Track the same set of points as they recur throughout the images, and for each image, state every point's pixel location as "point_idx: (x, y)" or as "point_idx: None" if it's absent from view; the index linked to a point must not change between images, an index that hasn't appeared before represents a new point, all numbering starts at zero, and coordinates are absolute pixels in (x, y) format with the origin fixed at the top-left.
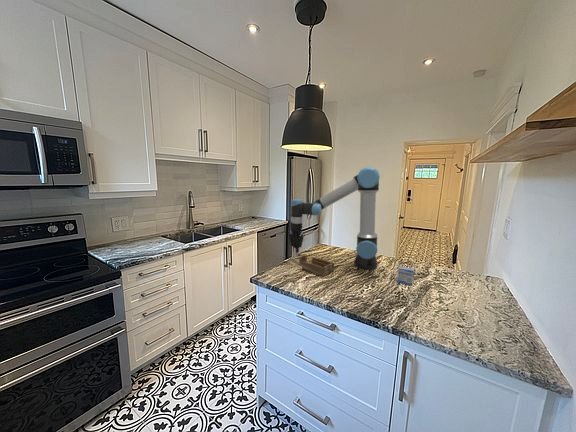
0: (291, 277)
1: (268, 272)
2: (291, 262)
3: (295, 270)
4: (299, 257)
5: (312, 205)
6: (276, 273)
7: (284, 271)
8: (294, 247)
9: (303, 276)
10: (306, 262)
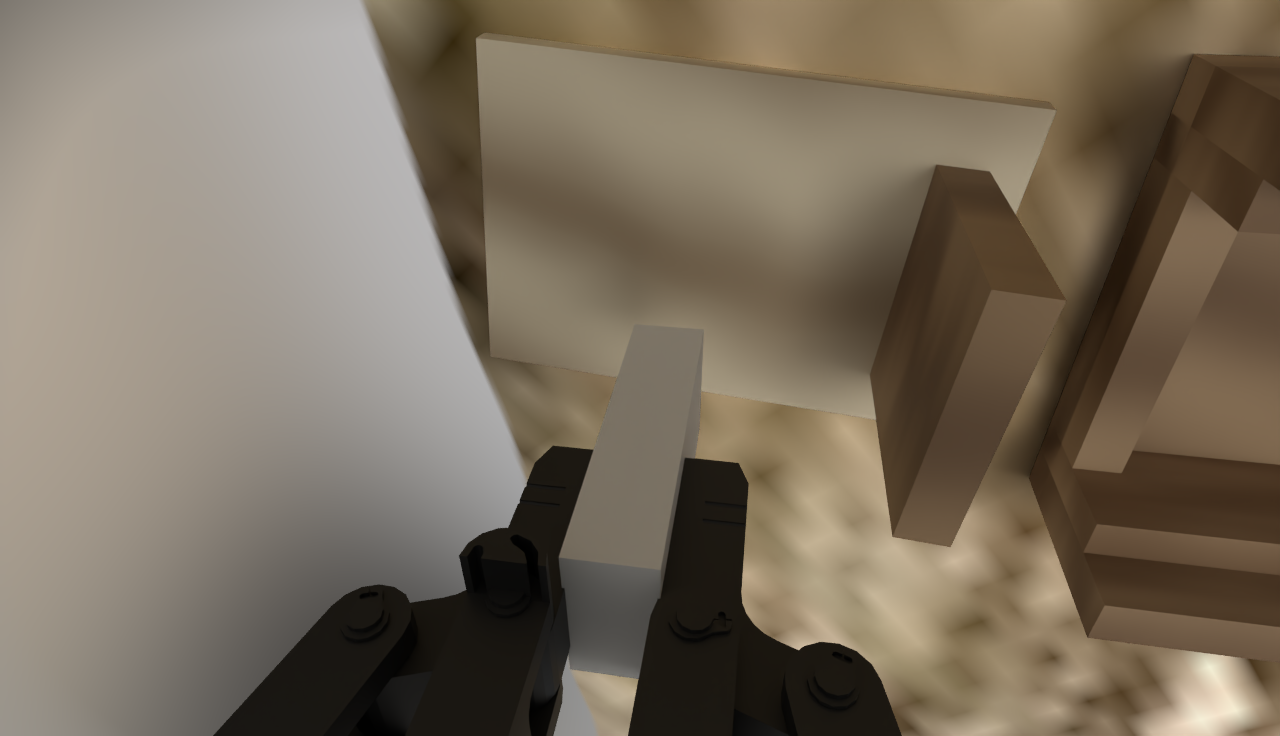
0: (1000, 729)
1: (625, 728)
2: (606, 331)
3: (915, 543)
4: (892, 521)
5: None
6: None
7: (777, 638)
8: (567, 646)
9: (1178, 652)
10: (1230, 637)
